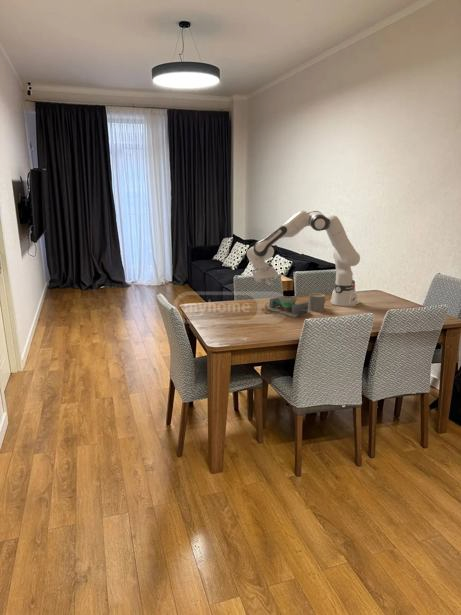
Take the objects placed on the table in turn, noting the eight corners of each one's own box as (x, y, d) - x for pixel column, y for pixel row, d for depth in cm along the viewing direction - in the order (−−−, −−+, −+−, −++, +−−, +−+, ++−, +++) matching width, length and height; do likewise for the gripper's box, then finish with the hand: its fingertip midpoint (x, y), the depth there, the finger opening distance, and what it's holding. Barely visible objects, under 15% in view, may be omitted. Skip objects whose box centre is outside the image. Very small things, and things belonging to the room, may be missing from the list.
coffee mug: (315, 312, 287) (316, 297, 284) (305, 308, 295) (306, 294, 293) (330, 310, 294) (332, 295, 291) (320, 306, 302) (322, 292, 299)
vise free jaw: (283, 303, 300) (283, 295, 299) (286, 304, 298) (286, 296, 297) (269, 306, 291) (269, 298, 289) (272, 307, 289) (273, 299, 288)
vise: (282, 305, 302) (283, 295, 300) (310, 312, 286) (310, 302, 284) (267, 309, 291) (267, 298, 289) (294, 317, 275) (295, 306, 274)
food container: (279, 313, 283) (280, 298, 280) (277, 310, 289) (278, 295, 286) (298, 312, 285) (299, 298, 282) (295, 310, 291) (296, 295, 288)
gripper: (253, 267, 291) (263, 284, 287) (273, 264, 304) (283, 280, 300) (248, 272, 295) (258, 289, 291) (268, 269, 309) (278, 285, 305)
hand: (271, 285), depth 296 cm, fingers closed
